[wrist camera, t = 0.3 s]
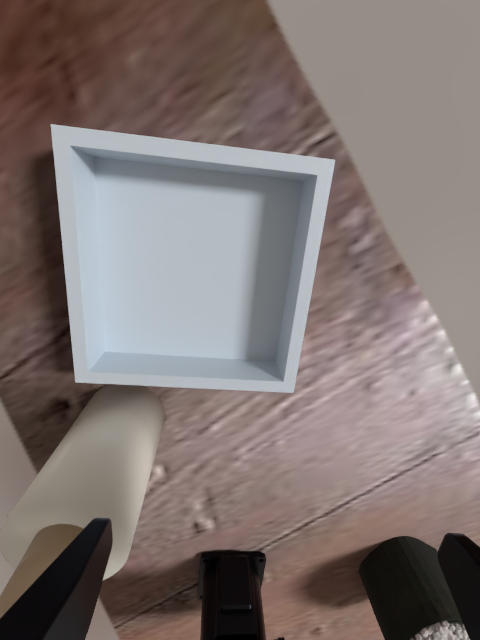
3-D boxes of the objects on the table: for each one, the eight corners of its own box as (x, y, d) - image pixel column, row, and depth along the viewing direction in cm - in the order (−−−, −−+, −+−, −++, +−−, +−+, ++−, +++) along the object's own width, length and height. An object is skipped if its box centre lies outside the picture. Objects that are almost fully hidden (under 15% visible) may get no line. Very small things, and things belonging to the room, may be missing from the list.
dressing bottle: (164, 446, 25) (111, 668, 13) (90, 444, 24) (-41, 674, 12) (165, 384, 23) (104, 575, 11) (84, 380, 22) (-77, 577, 10)
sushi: (392, 527, 30) (450, 631, 23) (449, 552, 32) (519, 655, 25) (344, 575, 32) (382, 684, 25) (400, 595, 34) (451, 703, 27)
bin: (282, 367, 23) (293, 392, 20) (97, 357, 22) (75, 382, 19) (314, 169, 19) (335, 159, 15) (82, 141, 17) (50, 124, 14)
